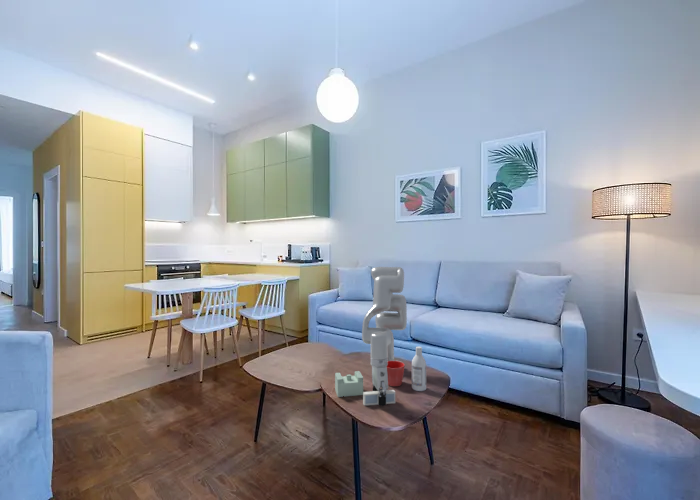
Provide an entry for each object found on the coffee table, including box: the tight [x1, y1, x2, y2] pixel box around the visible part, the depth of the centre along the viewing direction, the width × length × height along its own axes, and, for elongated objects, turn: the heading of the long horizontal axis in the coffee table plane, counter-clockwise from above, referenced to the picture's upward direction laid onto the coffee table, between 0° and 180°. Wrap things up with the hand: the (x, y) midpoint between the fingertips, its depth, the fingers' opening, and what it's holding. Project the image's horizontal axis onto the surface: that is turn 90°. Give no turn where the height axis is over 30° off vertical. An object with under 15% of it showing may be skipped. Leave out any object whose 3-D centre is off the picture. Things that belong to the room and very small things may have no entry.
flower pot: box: [387, 360, 406, 387], centre depth 159 cm, size 11×11×10 cm
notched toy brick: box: [334, 370, 364, 398], centre depth 149 cm, size 12×8×8 cm, turn 101°
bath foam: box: [411, 346, 427, 392], centre depth 153 cm, size 7×7×20 cm
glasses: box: [362, 389, 396, 406], centre depth 139 cm, size 14×3×5 cm, turn 99°
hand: (379, 400), depth 139 cm, fingers open, 8 cm apart
